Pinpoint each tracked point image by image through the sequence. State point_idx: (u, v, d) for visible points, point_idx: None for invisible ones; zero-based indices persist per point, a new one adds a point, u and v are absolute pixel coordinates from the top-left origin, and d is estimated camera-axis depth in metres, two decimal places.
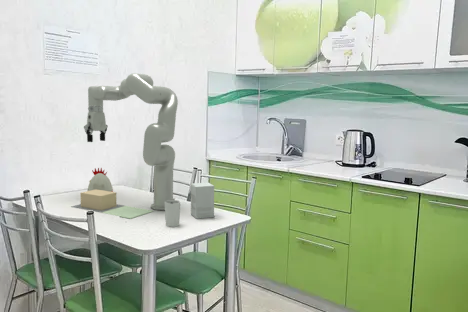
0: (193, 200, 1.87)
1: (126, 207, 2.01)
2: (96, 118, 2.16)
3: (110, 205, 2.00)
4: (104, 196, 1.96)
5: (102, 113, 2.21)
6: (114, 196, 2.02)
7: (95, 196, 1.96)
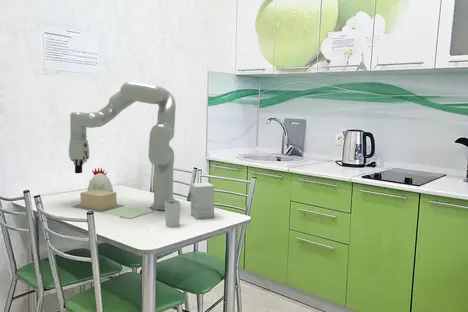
0: (193, 200, 1.87)
1: (126, 207, 2.01)
2: None
3: (110, 205, 2.00)
4: (104, 196, 1.96)
5: None
6: (114, 196, 2.02)
7: (95, 196, 1.96)
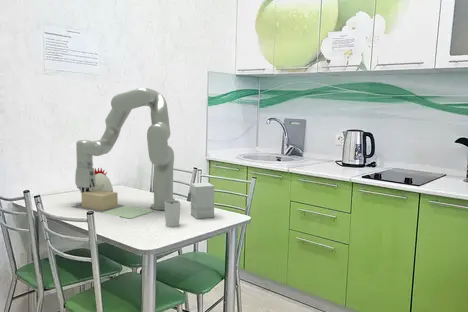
0: (193, 200, 1.87)
1: (126, 207, 2.01)
2: None
3: (111, 206, 1.99)
4: (105, 196, 1.96)
5: None
6: (115, 196, 2.01)
7: (96, 196, 1.95)
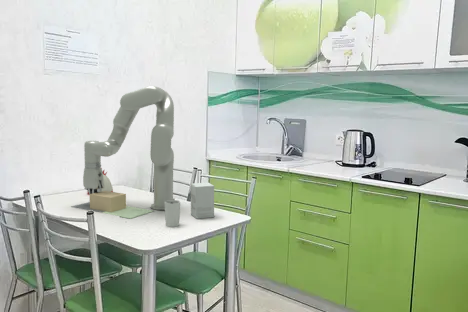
0: (193, 200, 1.87)
1: (126, 207, 2.01)
2: None
3: (120, 207, 1.97)
4: (114, 198, 1.93)
5: None
6: (124, 198, 1.99)
7: (105, 198, 1.93)
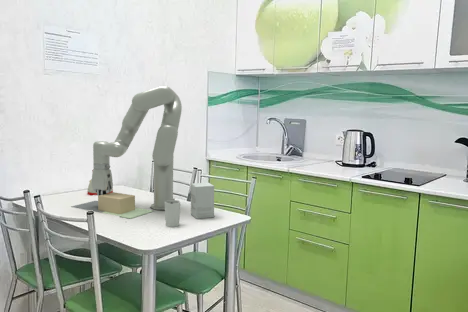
0: (193, 200, 1.87)
1: None
2: None
3: (128, 209, 1.94)
4: (123, 199, 1.90)
5: None
6: (133, 199, 1.96)
7: (114, 199, 1.90)
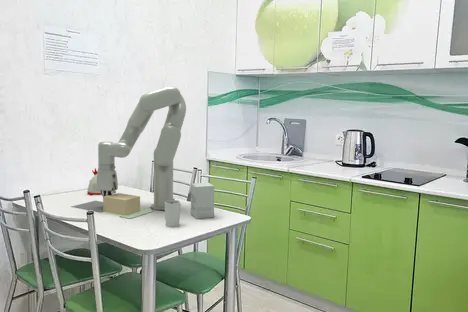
0: (193, 200, 1.87)
1: None
2: None
3: (134, 210, 1.92)
4: (128, 200, 1.88)
5: None
6: (138, 200, 1.94)
7: (119, 200, 1.88)
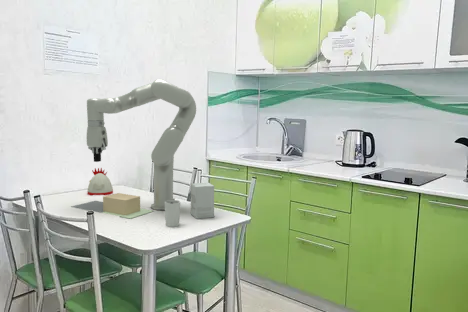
0: (193, 200, 1.87)
1: None
2: None
3: (134, 210, 1.92)
4: (128, 200, 1.88)
5: None
6: (138, 200, 1.94)
7: (119, 200, 1.88)
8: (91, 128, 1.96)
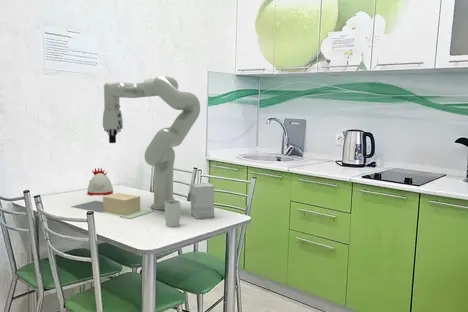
0: (193, 200, 1.87)
1: None
2: None
3: (134, 210, 1.92)
4: (128, 200, 1.88)
5: None
6: (138, 200, 1.94)
7: (119, 200, 1.88)
8: (107, 111, 2.08)
